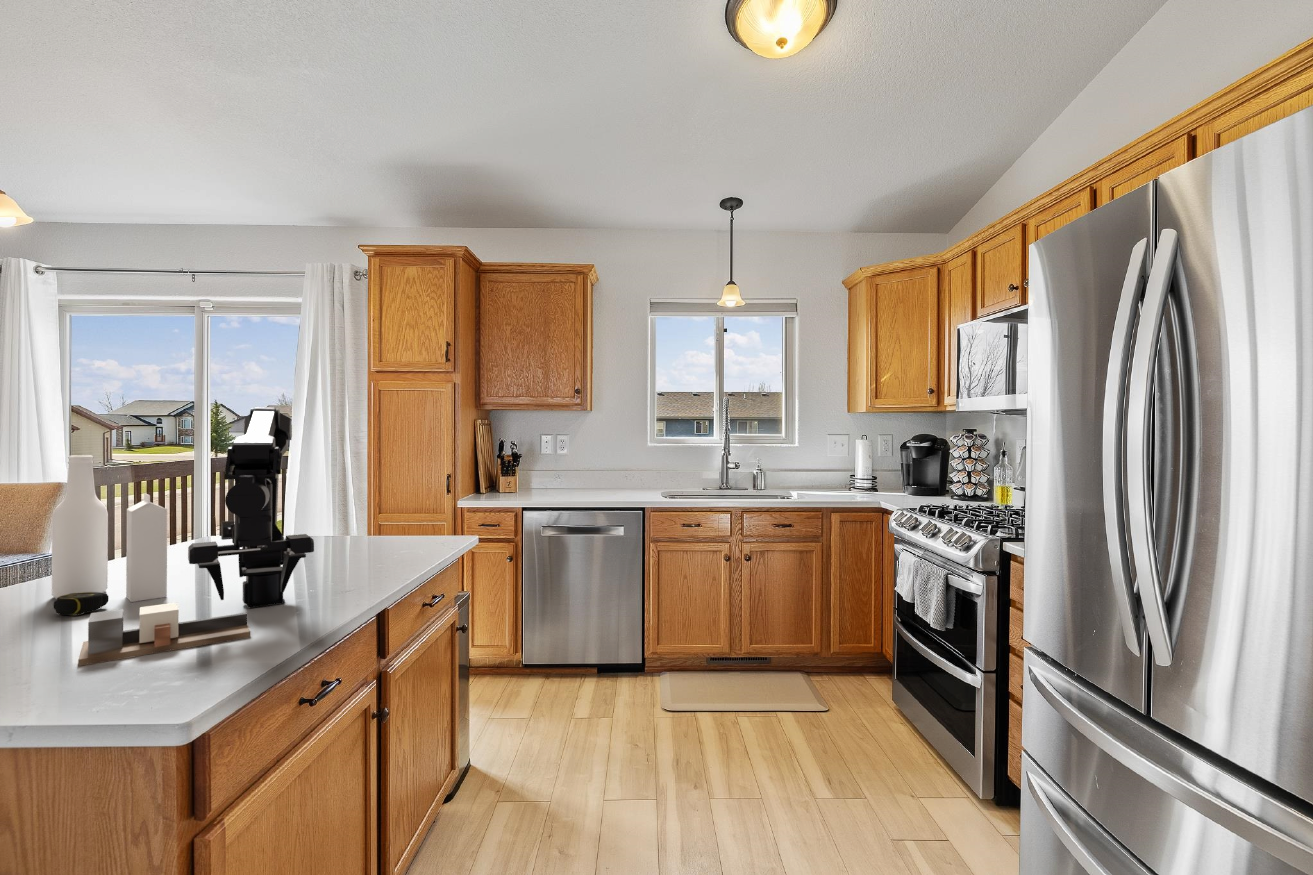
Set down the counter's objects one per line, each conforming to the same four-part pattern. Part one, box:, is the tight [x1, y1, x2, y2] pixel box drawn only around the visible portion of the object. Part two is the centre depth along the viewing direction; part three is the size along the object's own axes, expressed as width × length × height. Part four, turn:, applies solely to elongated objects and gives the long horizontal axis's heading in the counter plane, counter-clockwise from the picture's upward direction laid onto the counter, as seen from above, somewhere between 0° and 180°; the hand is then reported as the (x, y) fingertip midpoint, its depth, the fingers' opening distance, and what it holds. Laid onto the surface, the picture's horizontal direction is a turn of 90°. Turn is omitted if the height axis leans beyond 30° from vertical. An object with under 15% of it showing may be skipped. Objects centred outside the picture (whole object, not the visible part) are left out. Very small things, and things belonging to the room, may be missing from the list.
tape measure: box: [52, 592, 109, 617], centre depth 120 cm, size 7×7×4 cm
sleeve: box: [139, 602, 180, 643], centre depth 104 cm, size 5×5×5 cm
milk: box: [125, 493, 168, 603], centre depth 132 cm, size 6×6×22 cm
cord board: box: [77, 608, 251, 667], centre depth 105 cm, size 22×10×6 cm, turn 130°
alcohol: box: [51, 454, 109, 600], centre depth 133 cm, size 9×9×30 cm
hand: (252, 595), depth 112 cm, fingers open, 9 cm apart
